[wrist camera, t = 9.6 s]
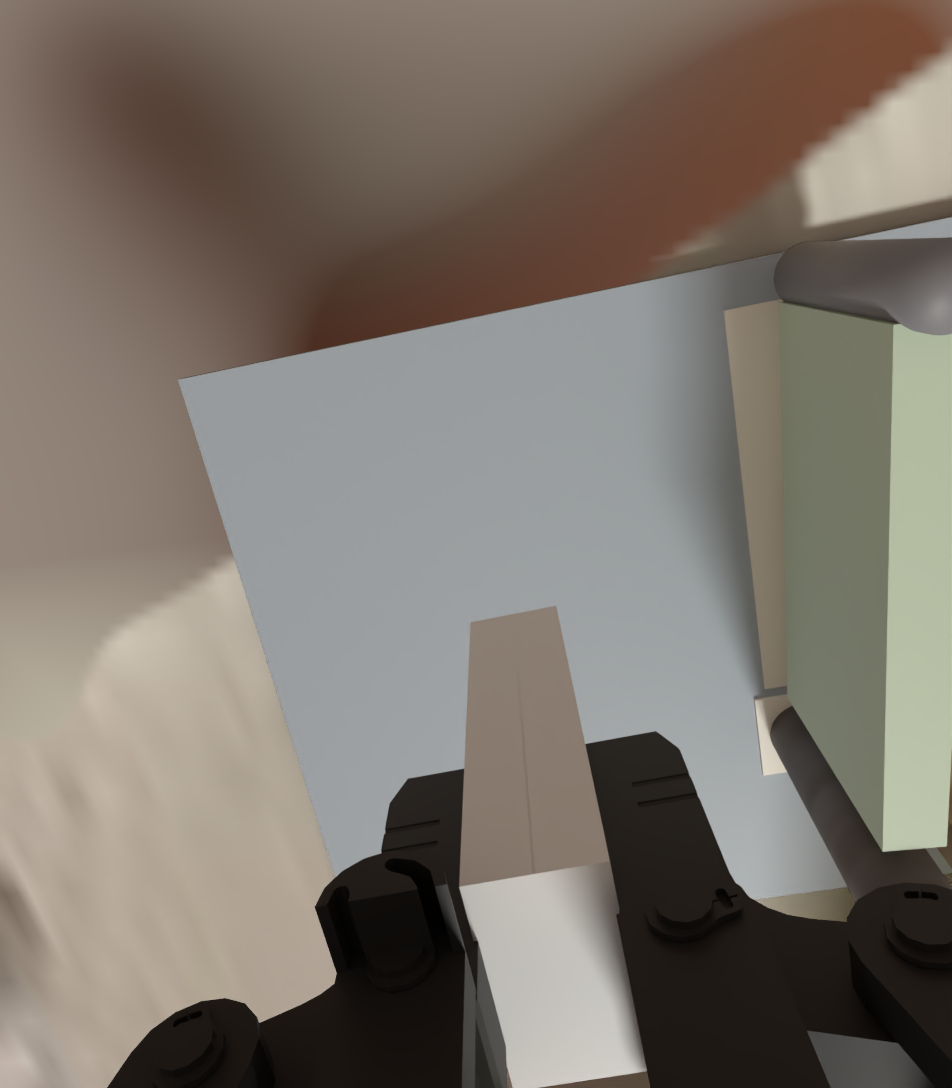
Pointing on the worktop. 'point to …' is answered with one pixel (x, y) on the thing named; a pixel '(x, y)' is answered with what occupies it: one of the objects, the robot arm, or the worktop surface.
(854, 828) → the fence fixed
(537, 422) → the card
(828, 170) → the worktop surface
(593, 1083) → the worktop surface
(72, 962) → the worktop surface
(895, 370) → the fence panel
